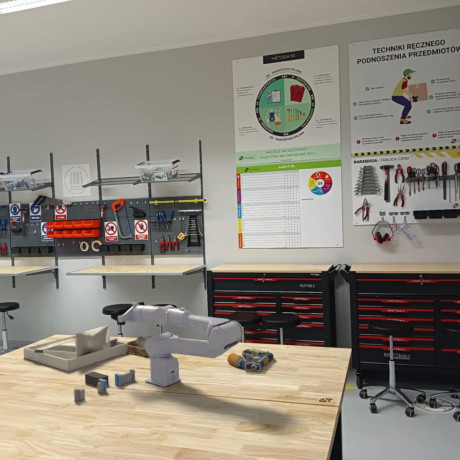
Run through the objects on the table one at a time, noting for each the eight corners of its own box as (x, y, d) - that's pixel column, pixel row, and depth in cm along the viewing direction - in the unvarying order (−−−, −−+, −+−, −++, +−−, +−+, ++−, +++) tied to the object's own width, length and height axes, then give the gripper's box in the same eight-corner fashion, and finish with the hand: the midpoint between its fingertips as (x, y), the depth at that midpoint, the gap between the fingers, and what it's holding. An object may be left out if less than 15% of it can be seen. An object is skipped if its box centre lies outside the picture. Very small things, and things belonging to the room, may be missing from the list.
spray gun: (219, 369, 163) (258, 375, 157) (219, 358, 163) (258, 363, 157) (241, 355, 182) (277, 359, 176) (241, 344, 182) (277, 348, 176)
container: (32, 361, 178) (32, 331, 178) (77, 347, 201) (76, 321, 201) (76, 365, 169) (76, 334, 170) (118, 350, 192) (117, 322, 193)
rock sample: (142, 346, 183) (142, 328, 189) (132, 355, 186) (133, 338, 193) (163, 353, 188) (163, 335, 194) (154, 362, 191) (154, 344, 198)
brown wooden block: (177, 348, 192) (177, 341, 192) (149, 357, 179) (149, 350, 179) (150, 342, 203) (149, 335, 203) (121, 351, 190) (121, 344, 190)
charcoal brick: (108, 385, 150) (108, 375, 150) (100, 388, 148) (100, 378, 148) (93, 380, 155) (93, 371, 155) (85, 383, 152) (84, 374, 152)
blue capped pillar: (136, 380, 154) (135, 369, 154) (78, 402, 136) (78, 390, 136) (131, 378, 155) (130, 368, 155) (73, 400, 137) (73, 388, 137)
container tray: (128, 352, 187) (127, 343, 187) (67, 371, 165) (67, 360, 165) (83, 342, 206) (83, 333, 206) (23, 357, 184) (23, 348, 184)
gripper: (159, 297, 161) (132, 296, 169) (129, 308, 150) (102, 306, 157) (161, 316, 162) (135, 315, 170) (131, 328, 150) (105, 326, 158)
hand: (119, 312), depth 164 cm, fingers open, 7 cm apart
